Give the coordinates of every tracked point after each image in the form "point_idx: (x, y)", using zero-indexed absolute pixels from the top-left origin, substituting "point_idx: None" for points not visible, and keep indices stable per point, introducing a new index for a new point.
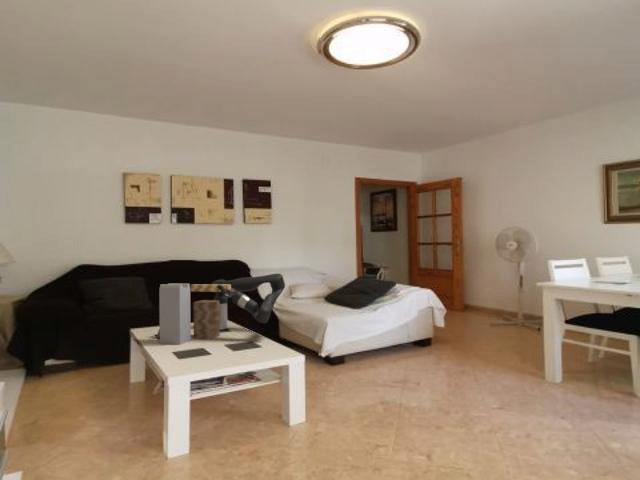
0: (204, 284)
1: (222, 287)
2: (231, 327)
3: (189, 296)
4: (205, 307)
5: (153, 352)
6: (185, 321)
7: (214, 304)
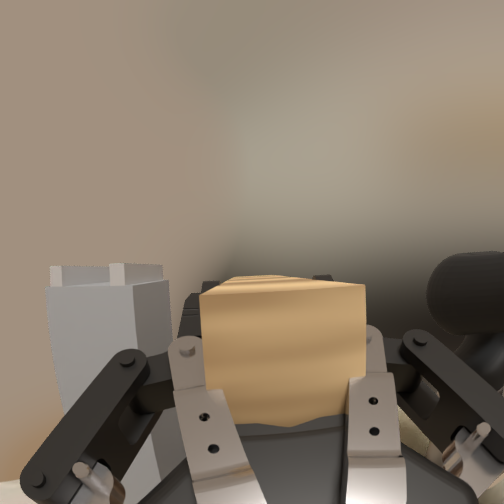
0: (272, 276)
1: (197, 330)
2: (492, 491)
3: (129, 346)
4: None
5: (12, 483)
6: None
7: None
